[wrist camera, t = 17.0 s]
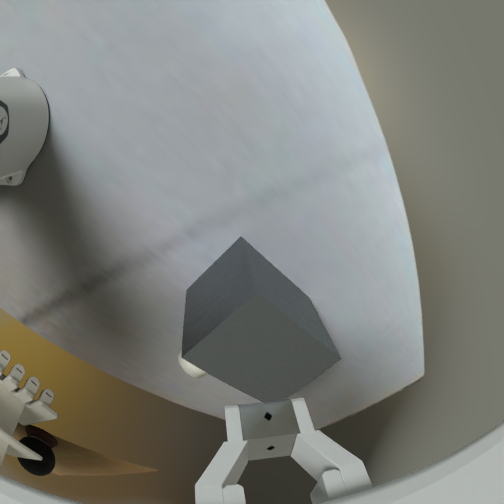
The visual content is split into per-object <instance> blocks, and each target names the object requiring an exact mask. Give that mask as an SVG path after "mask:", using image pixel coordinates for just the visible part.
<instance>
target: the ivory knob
mask: <svg viewBox="0 0 504 504" xmlns="http://www.w3.org/2000/svg"><path fill="white" fill-rule="evenodd" d="M181 354H182V350H181V351H180V352H179V354H178V360H179V363H180V365H181V367H182V368H183V370H184V371H185V372H186V373H187V374H189V375H190V376H192V377H194V378H202V377H203V376H204V375H206V374H207V372H205V371H203V370H201V369H199V368H198V367H196V366H194V365H193V364H191V363H189V362H187V361H186V360H184V359H182V358H181Z"/></svg>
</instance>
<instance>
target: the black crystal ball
mask: <svg viewBox="0 0 504 504" xmlns="http://www.w3.org/2000/svg"><path fill="white" fill-rule="evenodd" d="M26 431H27V434H28V436H27V437H24V438H22V439H21V440H20V441H19V442H20V443H22V444H23V445H25V446H26V447H28V448H29V449H31V450H32V451H34V452H35V453H37V454H38V455H40V456H41V457H42V460H34V459H27V458H21V457H17V458H18V460H19V462H20V464H21V465H22V466H23V467H24V469H26V470H27V471H28V472H30V473H32V474H34V475H38V476H43V475H47V474H49V473H50V472H51V471H52V470H53V469H54V466H55V456H54V453H53V451H52V449H51V448H54V447H55V446H57V440H56V439H55V438H54V437H53V436H52V435H51V434H49V433H48V432H46V431H44V430H43V429H40V428H38V427H35V426H31V425H29V426H27V427H26Z"/></svg>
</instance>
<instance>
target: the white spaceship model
mask: <svg viewBox="0 0 504 504" xmlns="http://www.w3.org/2000/svg"><path fill="white" fill-rule="evenodd" d="M10 359H11V358H10V354H9V353H8V352H7V351H5V350H2V351H1V352H0V467H1V464H2V462H3V459H4V456H5V453H7V454H9V455H10V456H15V457H21V458H27V459H34V460H42V457H41V456H40V455H38V454H37V453H35V452H34V451H32V450H31V449H29V448H28V447H26V446H25V445H23V444H22V443H20V442H19V441H17V440H16V439H15V438H13V437H12V436H13V433H14V431H15V428H16V426H17V424H18V422H19V423H20V424H21V425H29V424H34V423H38V422H44V421H48V420H53V419H57V418H58V414H57V413H56V412H55V411H53V410H52V409H51V408H49V407H50V405H51V403H52V400H53V398H54V393H53V391H52V390H50V389H45V390H43V391H42V392H41V395H40V397H39V399H38V400H35V401H34V400H33V398H34V396H35V394H36V392H37V390H38V388H39V386H40V382H39V380H38V379H37V378H36V377H30V378H29V379H28V380H27V381H26V383H25V385H24V387H23V388H21V389H20V388H18V385H19V383H20V381H21V379H22V377H23V376H24V374H25V369H24V367H23V366H22V365H21V364H16V365H15V366H14V367H13V368H12V370H11V372H10V373H9V375H7V376H5V375H4V374H3V371H4V370H5V368H6V366H7V365H8V363H9V361H10Z"/></svg>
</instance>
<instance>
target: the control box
mask: <svg viewBox="0 0 504 504" xmlns="http://www.w3.org/2000/svg"><path fill="white" fill-rule="evenodd" d="M181 358H182V359H184V360H186V361H187V362H189V363H191V364H193V365H194V366H196V367H198V368H199V369H201V370H203V371H205V372H207V373H208V374H210V375H212V376H214V377H215V378H217V379H219V380H221V381H223V382H225V383H227V384H228V385H230V386H232V387H234V388H236V389H238V390H240V391H242V392H244V393H246V394H248V395H250V396H252V397H254V398H256V399H258V400H260V401H262V402H271V401H279V400H285V399H286V398H288V397H289V396H291V395H292V394H294V393H295V392H297V391H298V390H299V389H301V388H302V387H304V386H305V385H307V384H308V383H309V382H311V381H312V380H313V379H315V378H316V377H318V376H319V375H320V374H322V373H323V372H324V371H326V370H327V369H328V368H330V367H331V366H332V365H334V364H335V363H336V362H337V361H339V360H340V359H341V357H340V355H339V353H338V351H337V349H336V347H335V345H334V343H333V341H332V340H331V338H330V336H329V334H328V332H327V330H326V328H325V326H324V325H323V323H322V321H321V319H320V317H319V315H318V313H317V312H316V310H315V308H314V306H313V304H312V302H311V300H310V299H309V297H308V296H307V295H306V294H305V293H303V292H302V291H301V290H300V289H299V288H298V287H297V286H296V285H295V284H293V283H292V282H291V281H290V280H289V279H288V278H287V277H286V276H284V275H283V274H282V273H281V272H280V271H279V270H278V269H277V268H276V267H274V266H273V265H272V264H271V263H270V262H269V261H268V260H267V259H266V258H264V257H263V256H262V255H261V254H260V253H259V252H258V251H257V250H255V249H254V248H253V247H252V246H251V245H250V244H249V243H248V242H247V241H245V240H244V239H243V238H242V237H240V238H239V239H238V240H237V241H236V242H235V243H234V244H233V245H232V246H231V247H230V248H229V249H228V250H227V251H226V252H225V253H224V254H223V255H222V256H221V257H220V258H219V259H218V260H217V261H216V262H214V263H213V264H212V265H211V266H210V267H209V268H208V269H207V270H206V271H205V272H204V273H203V274H202V275H201V276H200V277H199V278H198V279H197V280H196V281H195V282H194V283H193V284H192V285H191V286H190V287H189V288H188V289H187V292H186V303H185V314H184V327H183V340H182V354H181Z"/></svg>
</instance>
